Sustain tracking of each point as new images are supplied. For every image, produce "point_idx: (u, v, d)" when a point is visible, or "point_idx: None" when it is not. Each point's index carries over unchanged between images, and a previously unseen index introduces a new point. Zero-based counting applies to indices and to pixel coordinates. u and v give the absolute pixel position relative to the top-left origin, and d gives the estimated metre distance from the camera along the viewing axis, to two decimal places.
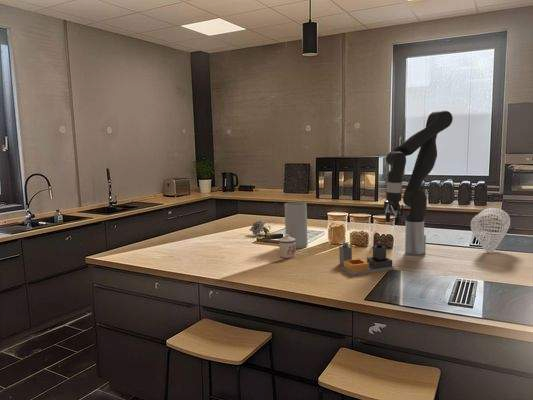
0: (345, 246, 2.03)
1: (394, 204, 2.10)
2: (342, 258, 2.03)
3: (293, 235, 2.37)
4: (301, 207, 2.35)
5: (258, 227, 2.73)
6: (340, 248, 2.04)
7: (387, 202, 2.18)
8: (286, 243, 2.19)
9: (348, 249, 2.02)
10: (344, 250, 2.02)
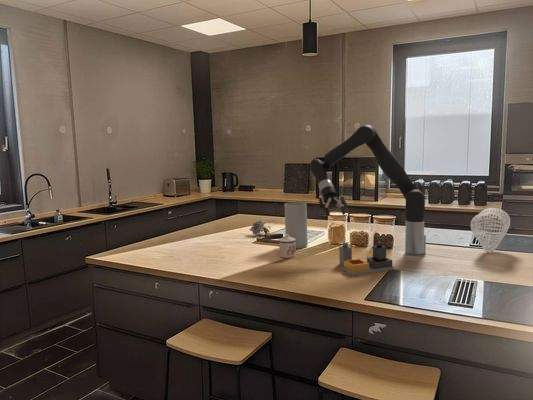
0: (345, 246, 2.03)
1: None
2: (342, 258, 2.03)
3: (293, 235, 2.37)
4: (301, 207, 2.35)
5: (258, 227, 2.73)
6: (340, 248, 2.04)
7: None
8: (286, 243, 2.19)
9: (348, 249, 2.02)
10: (344, 250, 2.02)
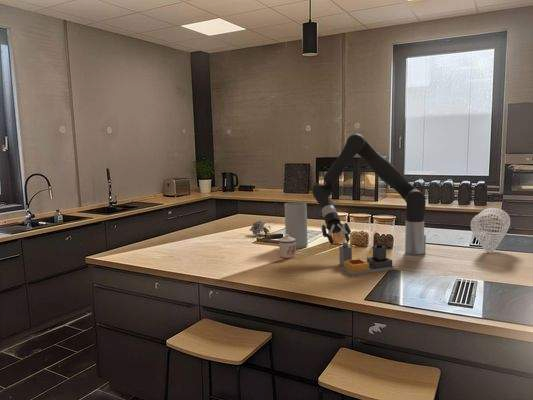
0: (345, 246, 2.03)
1: None
2: (342, 258, 2.03)
3: (293, 235, 2.37)
4: (301, 207, 2.35)
5: (258, 227, 2.73)
6: (340, 248, 2.04)
7: None
8: (286, 243, 2.19)
9: (348, 249, 2.02)
10: (344, 250, 2.02)
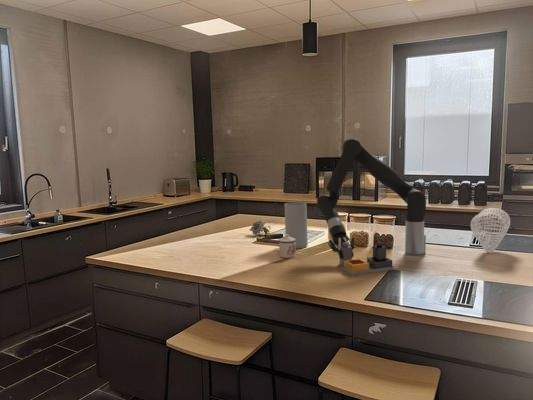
0: (345, 246, 2.03)
1: None
2: None
3: (293, 235, 2.37)
4: (301, 207, 2.35)
5: (258, 227, 2.73)
6: None
7: None
8: (286, 243, 2.19)
9: (348, 249, 2.02)
10: (344, 250, 2.02)
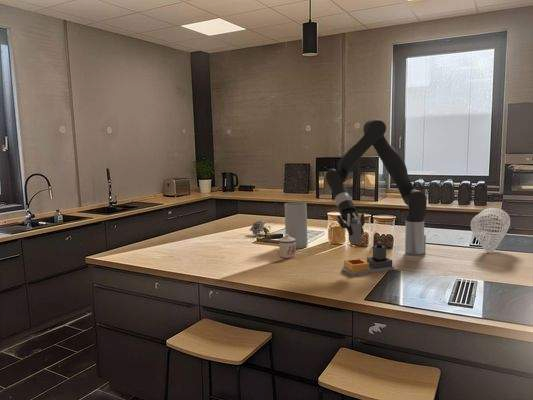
0: (354, 222, 1.91)
1: None
2: None
3: (293, 235, 2.37)
4: (301, 207, 2.35)
5: (258, 227, 2.73)
6: None
7: None
8: (286, 243, 2.19)
9: (358, 225, 1.90)
10: (353, 226, 1.90)
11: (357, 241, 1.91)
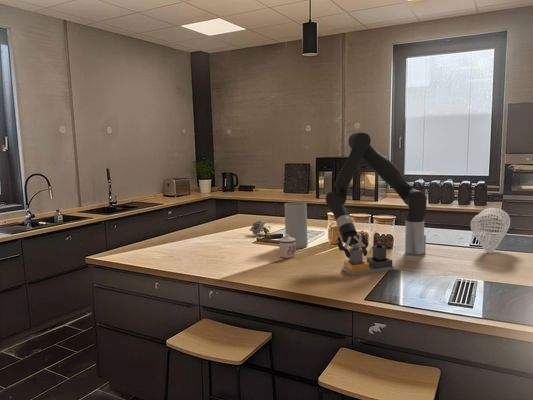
0: (355, 248, 1.92)
1: None
2: (352, 261, 1.92)
3: (293, 235, 2.37)
4: (301, 207, 2.35)
5: (258, 227, 2.73)
6: (350, 250, 1.94)
7: None
8: (286, 243, 2.19)
9: (359, 252, 1.91)
10: (354, 253, 1.91)
11: None
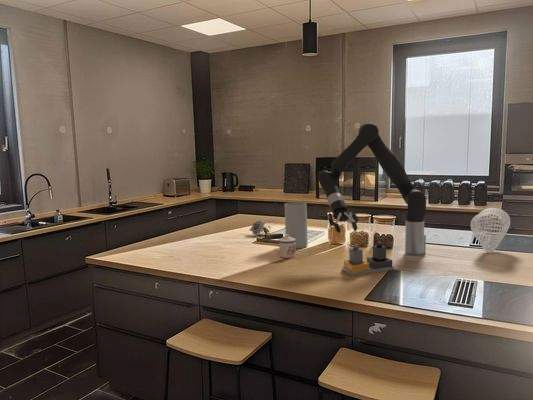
0: (355, 248, 1.92)
1: None
2: (352, 261, 1.92)
3: (293, 235, 2.37)
4: (301, 207, 2.35)
5: (258, 227, 2.73)
6: (350, 250, 1.94)
7: None
8: (286, 243, 2.19)
9: (359, 252, 1.91)
10: (354, 253, 1.91)
11: None
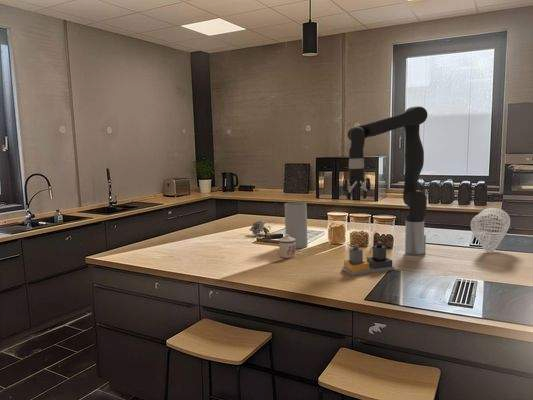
0: (355, 248, 1.92)
1: None
2: (352, 261, 1.92)
3: (293, 235, 2.37)
4: (301, 207, 2.35)
5: (258, 227, 2.73)
6: (350, 250, 1.94)
7: (364, 179, 2.15)
8: (286, 243, 2.19)
9: (359, 252, 1.91)
10: (354, 253, 1.91)
11: None
